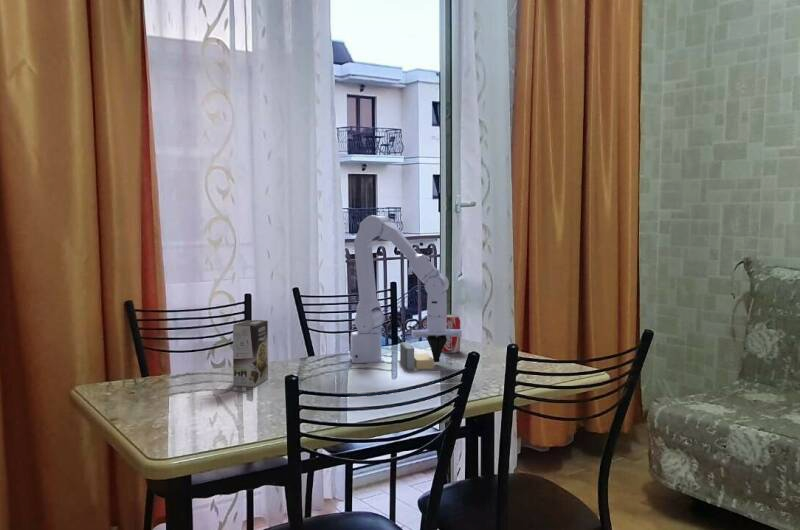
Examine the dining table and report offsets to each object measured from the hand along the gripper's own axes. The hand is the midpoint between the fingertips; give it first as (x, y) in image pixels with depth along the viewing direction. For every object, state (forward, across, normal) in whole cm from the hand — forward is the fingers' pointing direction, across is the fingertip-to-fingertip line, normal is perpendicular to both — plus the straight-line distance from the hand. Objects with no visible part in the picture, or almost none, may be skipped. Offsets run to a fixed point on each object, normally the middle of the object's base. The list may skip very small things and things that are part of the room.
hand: (436, 361), depth 204 cm
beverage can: (+2, +8, +18) cm, 20 cm away
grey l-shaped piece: (+1, -4, 0) cm, 4 cm away
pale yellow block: (+1, -4, 0) cm, 4 cm away
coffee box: (+2, -53, -12) cm, 54 cm away
